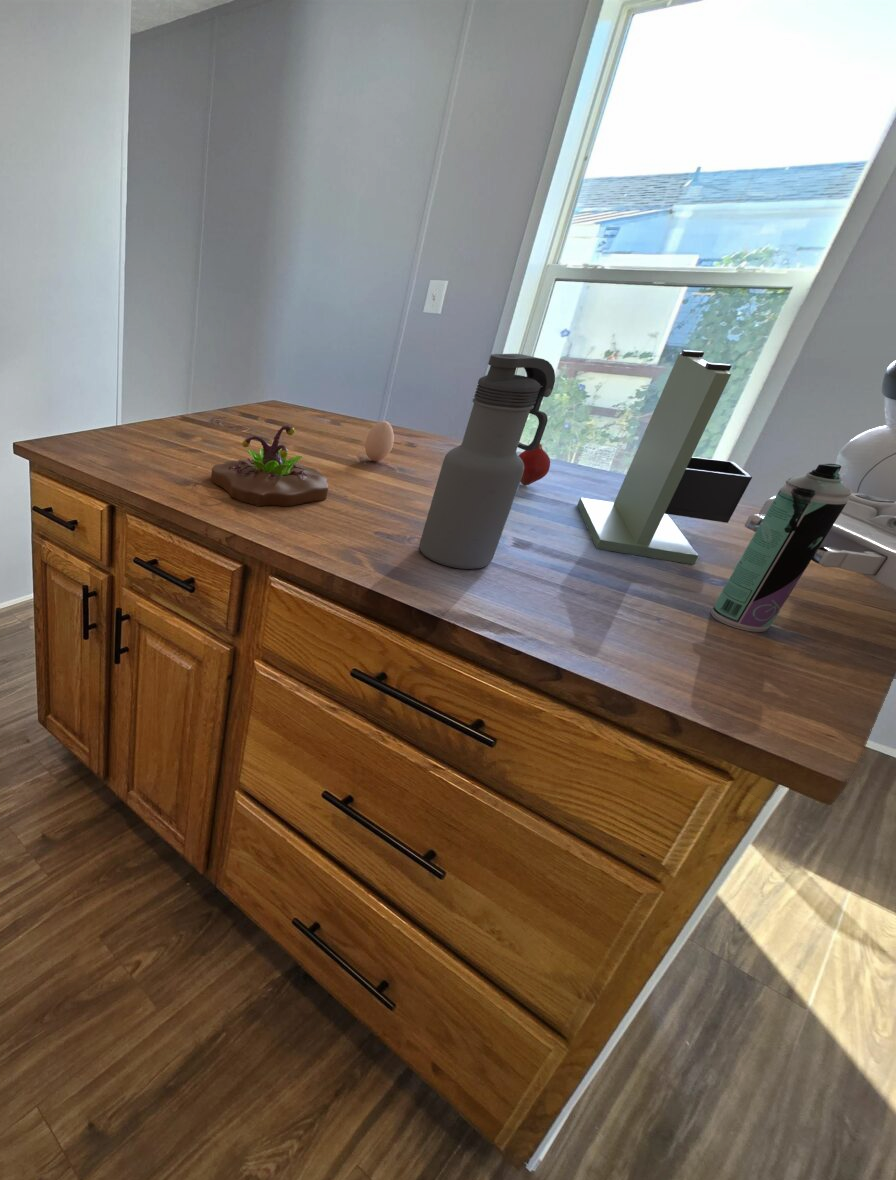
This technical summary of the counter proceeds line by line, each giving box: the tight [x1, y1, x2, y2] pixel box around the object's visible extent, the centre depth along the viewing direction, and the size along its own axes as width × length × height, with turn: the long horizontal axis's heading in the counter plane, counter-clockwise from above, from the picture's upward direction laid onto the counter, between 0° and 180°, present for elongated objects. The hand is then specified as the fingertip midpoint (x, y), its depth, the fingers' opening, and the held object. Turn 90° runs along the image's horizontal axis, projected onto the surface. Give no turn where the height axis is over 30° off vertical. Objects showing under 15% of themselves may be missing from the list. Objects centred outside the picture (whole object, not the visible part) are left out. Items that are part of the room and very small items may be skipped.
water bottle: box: [418, 353, 556, 570], centre depth 89 cm, size 10×10×28 cm
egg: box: [364, 420, 395, 462], centre depth 133 cm, size 5×5×8 cm
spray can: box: [710, 463, 852, 633], centre depth 76 cm, size 6×6×20 cm
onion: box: [518, 443, 551, 486], centre depth 122 cm, size 6×6×8 cm
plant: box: [210, 424, 329, 507], centre depth 118 cm, size 20×20×11 cm
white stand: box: [576, 349, 753, 566], centre depth 98 cm, size 16×20×27 cm
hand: (783, 538), depth 76 cm, fingers open, 8 cm apart
